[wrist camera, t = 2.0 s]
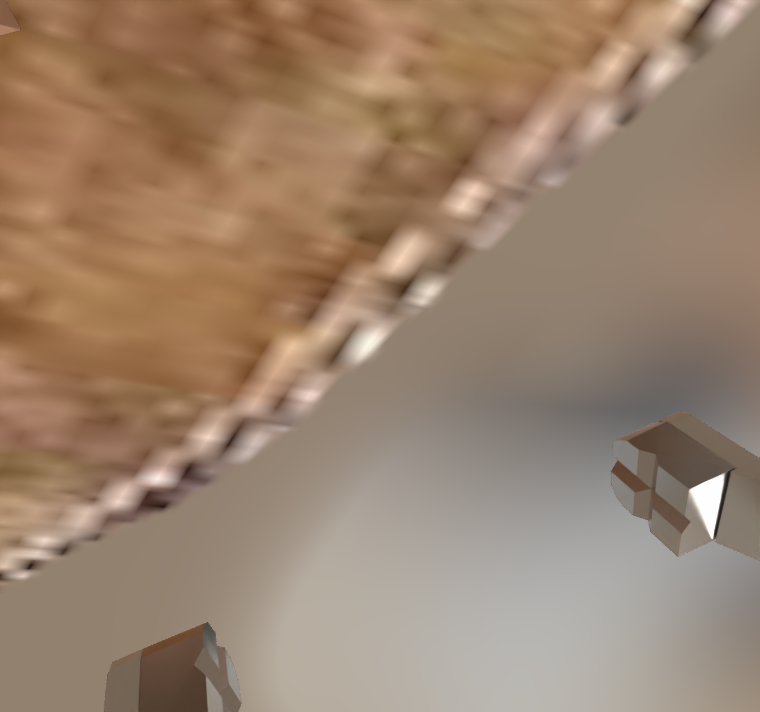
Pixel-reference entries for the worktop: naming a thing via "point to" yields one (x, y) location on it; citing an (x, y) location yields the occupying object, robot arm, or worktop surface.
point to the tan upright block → (7, 19)
